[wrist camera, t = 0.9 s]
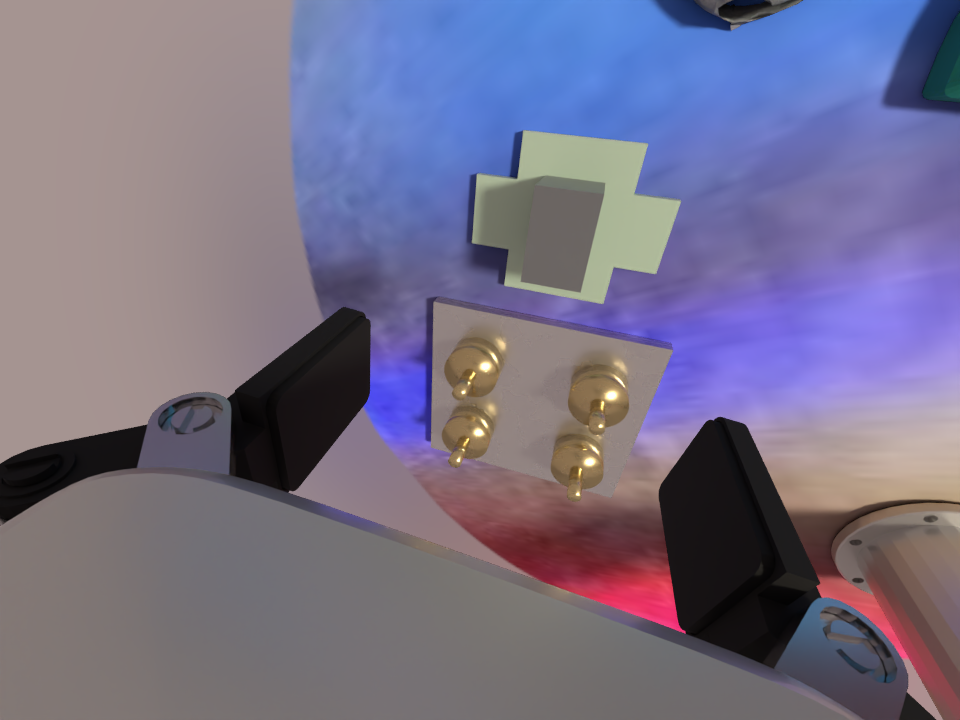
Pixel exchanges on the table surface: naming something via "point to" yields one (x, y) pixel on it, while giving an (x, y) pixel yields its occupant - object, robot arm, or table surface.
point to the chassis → (540, 394)
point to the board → (618, 215)
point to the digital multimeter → (946, 68)
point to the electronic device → (744, 10)
